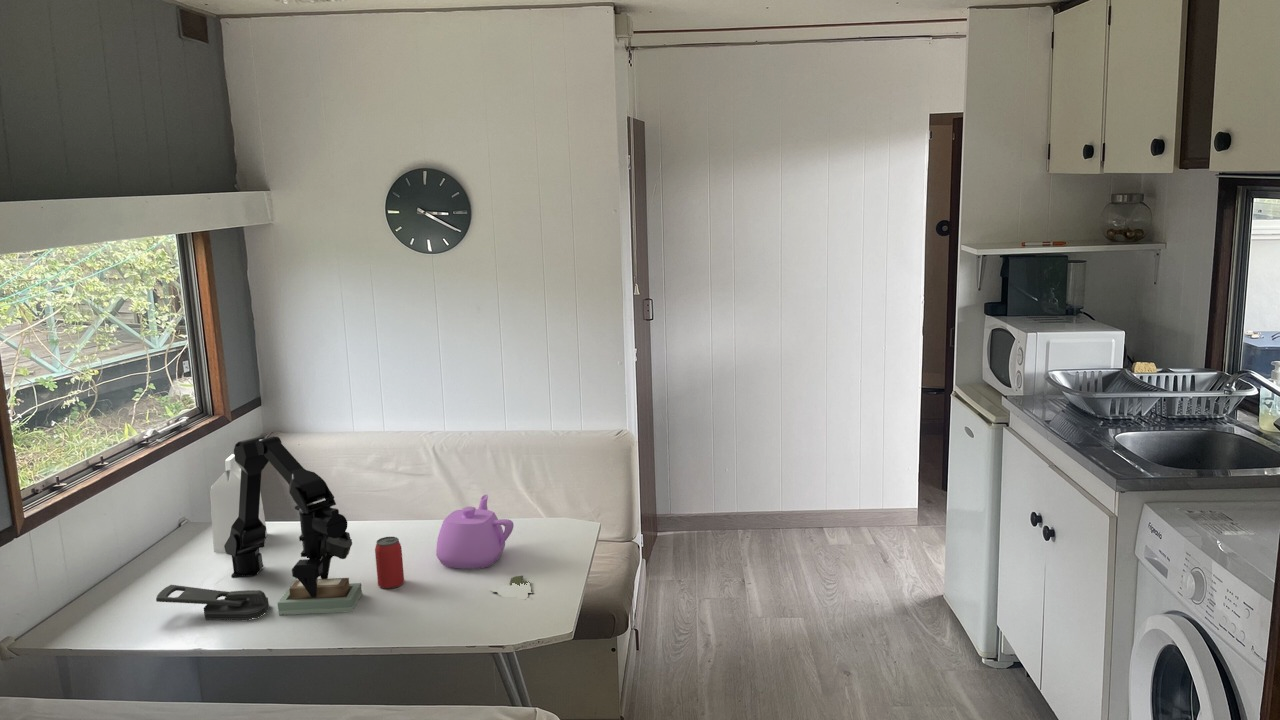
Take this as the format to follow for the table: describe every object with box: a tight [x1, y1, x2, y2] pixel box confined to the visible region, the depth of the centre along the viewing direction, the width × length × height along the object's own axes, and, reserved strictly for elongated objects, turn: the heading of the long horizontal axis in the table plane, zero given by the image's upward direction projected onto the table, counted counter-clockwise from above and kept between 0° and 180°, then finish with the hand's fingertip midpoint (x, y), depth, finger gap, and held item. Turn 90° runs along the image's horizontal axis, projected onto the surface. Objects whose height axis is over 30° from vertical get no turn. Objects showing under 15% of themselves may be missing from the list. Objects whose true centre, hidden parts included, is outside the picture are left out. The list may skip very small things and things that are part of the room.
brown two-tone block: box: [288, 577, 350, 600], centre depth 233 cm, size 13×5×5 cm, turn 92°
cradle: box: [277, 582, 363, 616], centre depth 233 cm, size 18×10×3 cm, turn 92°
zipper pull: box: [155, 584, 270, 621], centre depth 230 cm, size 9×7×25 cm
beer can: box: [374, 536, 405, 590], centre depth 243 cm, size 7×7×12 cm
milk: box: [209, 453, 268, 553], centre depth 273 cm, size 12×12×26 cm
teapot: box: [435, 494, 514, 569], centre depth 259 cm, size 23×21×15 cm
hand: (319, 588), depth 233 cm, fingers open, 9 cm apart
